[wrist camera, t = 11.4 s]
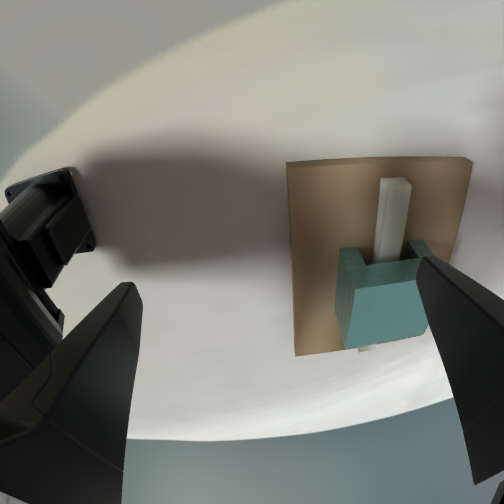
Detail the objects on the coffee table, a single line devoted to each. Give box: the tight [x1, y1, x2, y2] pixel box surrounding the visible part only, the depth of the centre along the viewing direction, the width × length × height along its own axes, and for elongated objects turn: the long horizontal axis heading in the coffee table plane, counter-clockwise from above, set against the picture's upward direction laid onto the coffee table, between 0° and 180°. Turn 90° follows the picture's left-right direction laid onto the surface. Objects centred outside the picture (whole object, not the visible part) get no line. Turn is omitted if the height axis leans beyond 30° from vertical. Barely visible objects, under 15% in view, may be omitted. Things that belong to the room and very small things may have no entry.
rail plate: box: [286, 157, 472, 356], centre depth 22 cm, size 13×18×2 cm
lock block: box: [334, 239, 433, 349], centre depth 21 cm, size 6×6×4 cm
